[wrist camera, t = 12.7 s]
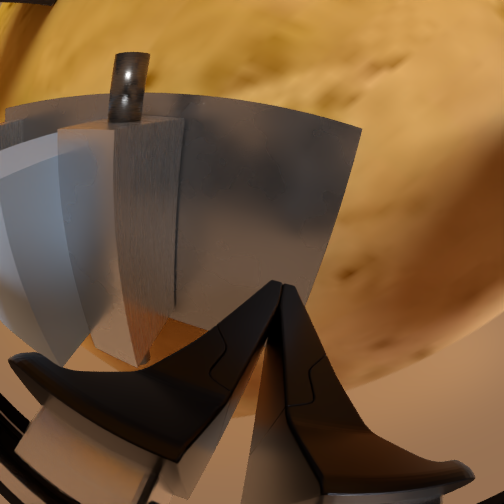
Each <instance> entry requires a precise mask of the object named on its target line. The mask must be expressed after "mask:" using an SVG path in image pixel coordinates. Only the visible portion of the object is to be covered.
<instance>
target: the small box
mask: <svg viewBox="0 0 504 504" xmlns="http://www.w3.org/2000/svg"><path fill="white" fill-rule="evenodd" d="M55 1H56V0H0V2H14V3H31V4H40V5H48V6H52V5H53V4H54V3H55Z"/></svg>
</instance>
